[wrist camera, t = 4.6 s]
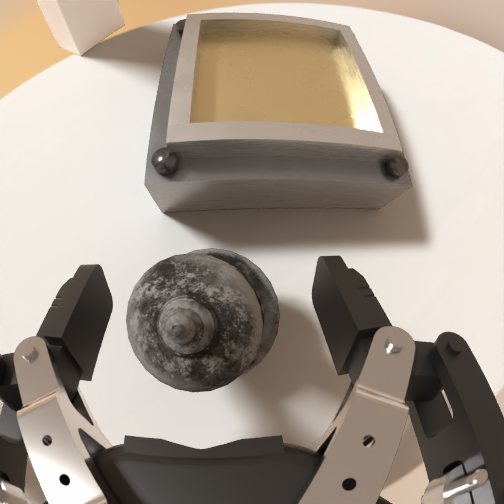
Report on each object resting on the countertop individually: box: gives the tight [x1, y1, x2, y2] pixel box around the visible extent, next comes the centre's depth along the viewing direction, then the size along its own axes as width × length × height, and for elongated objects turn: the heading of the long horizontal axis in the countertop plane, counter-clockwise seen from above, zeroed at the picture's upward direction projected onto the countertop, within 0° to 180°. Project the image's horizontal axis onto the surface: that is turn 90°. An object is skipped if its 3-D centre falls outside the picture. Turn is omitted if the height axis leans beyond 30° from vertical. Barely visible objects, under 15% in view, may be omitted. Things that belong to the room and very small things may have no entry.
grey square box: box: [144, 13, 412, 212], centre depth 16 cm, size 14×14×6 cm
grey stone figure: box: [126, 248, 280, 392], centre depth 9 cm, size 6×6×12 cm
